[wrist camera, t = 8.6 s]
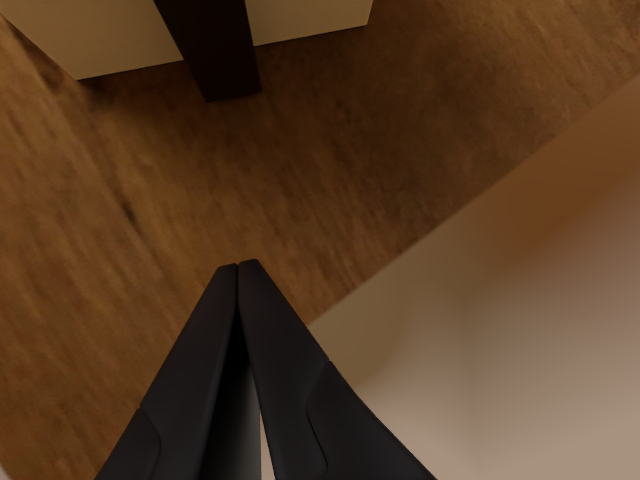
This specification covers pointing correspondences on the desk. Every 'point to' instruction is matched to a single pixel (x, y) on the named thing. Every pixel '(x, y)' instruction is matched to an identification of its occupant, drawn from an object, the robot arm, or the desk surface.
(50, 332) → the desk surface
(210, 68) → the cake knife
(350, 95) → the desk surface
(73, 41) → the loaf cake
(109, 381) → the desk surface
